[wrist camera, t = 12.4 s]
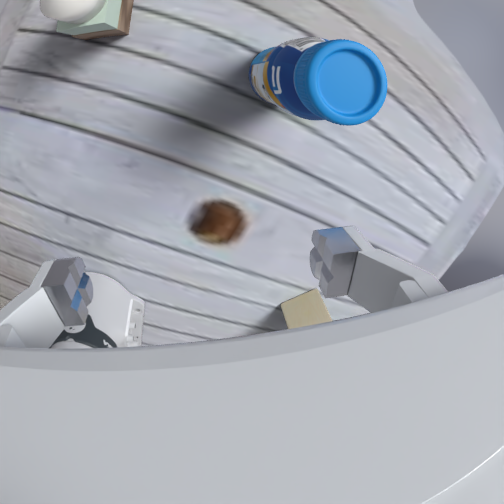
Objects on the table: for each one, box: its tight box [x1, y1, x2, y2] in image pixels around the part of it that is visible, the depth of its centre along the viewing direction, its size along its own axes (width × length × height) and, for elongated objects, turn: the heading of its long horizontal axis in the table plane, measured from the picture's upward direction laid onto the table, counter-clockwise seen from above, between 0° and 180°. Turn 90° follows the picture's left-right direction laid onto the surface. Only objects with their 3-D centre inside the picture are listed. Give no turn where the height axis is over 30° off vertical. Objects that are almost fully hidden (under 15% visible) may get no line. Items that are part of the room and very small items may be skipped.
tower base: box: [72, 0, 134, 40], centre depth 22 cm, size 6×6×5 cm
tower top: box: [56, 0, 122, 35], centre depth 18 cm, size 6×6×5 cm
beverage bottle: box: [249, 37, 387, 125], centre depth 25 cm, size 8×8×20 cm
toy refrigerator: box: [281, 289, 332, 329], centre depth 50 cm, size 8×7×21 cm
